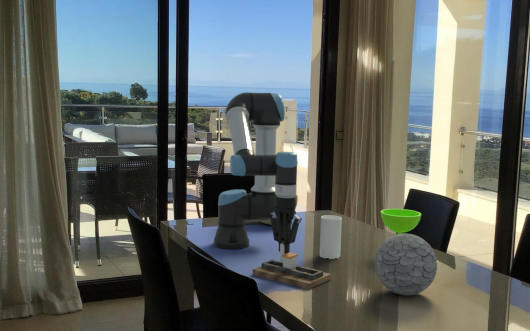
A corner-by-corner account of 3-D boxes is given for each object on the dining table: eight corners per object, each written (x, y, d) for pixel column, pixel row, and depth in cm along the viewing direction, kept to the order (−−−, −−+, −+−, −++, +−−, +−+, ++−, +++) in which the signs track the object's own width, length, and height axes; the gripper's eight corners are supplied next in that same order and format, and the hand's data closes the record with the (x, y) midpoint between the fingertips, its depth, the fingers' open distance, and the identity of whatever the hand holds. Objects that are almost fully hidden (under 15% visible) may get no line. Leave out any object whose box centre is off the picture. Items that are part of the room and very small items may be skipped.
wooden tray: (252, 274, 208) (252, 264, 208) (275, 266, 219) (276, 256, 219) (309, 289, 194) (309, 278, 193) (330, 279, 205) (331, 269, 204)
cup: (339, 259, 230) (340, 219, 228) (318, 258, 232) (320, 218, 230) (340, 254, 238) (342, 215, 236) (320, 252, 240) (322, 214, 238)
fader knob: (281, 271, 206) (282, 255, 205) (289, 268, 210) (289, 252, 209) (289, 273, 204) (289, 256, 203) (297, 270, 208) (297, 254, 207)
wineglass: (392, 249, 249) (394, 207, 247) (426, 256, 237) (428, 213, 235) (370, 255, 238) (372, 212, 235) (404, 264, 226) (407, 218, 224)
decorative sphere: (397, 307, 179) (400, 243, 176) (361, 287, 197) (364, 229, 194) (448, 300, 187) (452, 238, 184) (409, 281, 205) (412, 225, 202)
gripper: (264, 195, 206) (262, 260, 209) (294, 199, 198) (292, 267, 201) (277, 192, 212) (275, 256, 215) (306, 197, 204) (304, 262, 207)
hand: (283, 261), depth 208 cm, fingers closed
